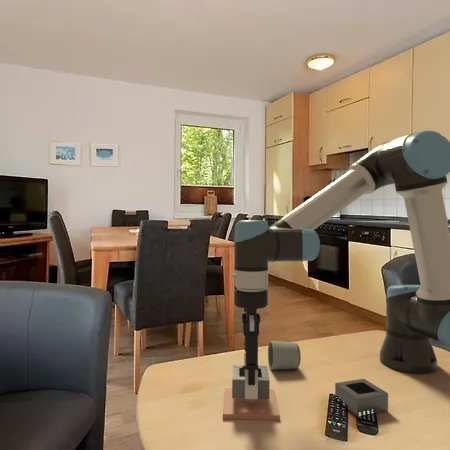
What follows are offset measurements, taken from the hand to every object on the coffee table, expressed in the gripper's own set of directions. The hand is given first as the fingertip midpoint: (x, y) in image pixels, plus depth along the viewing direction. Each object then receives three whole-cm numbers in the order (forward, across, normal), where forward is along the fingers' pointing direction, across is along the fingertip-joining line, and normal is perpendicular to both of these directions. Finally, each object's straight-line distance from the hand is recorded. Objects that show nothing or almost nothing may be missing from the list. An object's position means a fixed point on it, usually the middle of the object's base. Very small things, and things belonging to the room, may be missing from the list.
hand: (250, 388), depth 84 cm
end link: (0, 0, 0) cm, 0 cm away
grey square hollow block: (+4, -1, +25) cm, 25 cm away
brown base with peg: (+4, 0, 0) cm, 4 cm away
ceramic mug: (+4, -23, +10) cm, 25 cm away
